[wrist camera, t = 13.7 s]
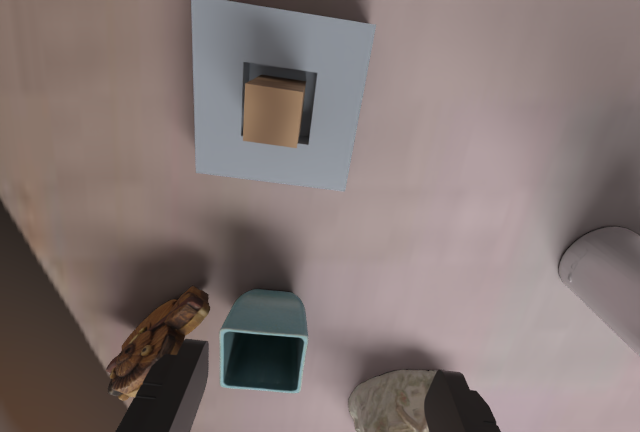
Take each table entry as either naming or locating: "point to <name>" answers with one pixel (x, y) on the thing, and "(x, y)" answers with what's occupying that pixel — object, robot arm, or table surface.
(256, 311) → the flower pot
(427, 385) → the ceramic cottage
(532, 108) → the table surface
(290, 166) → the holder
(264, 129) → the wooden block
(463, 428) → the robot arm
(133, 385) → the wooden carving
